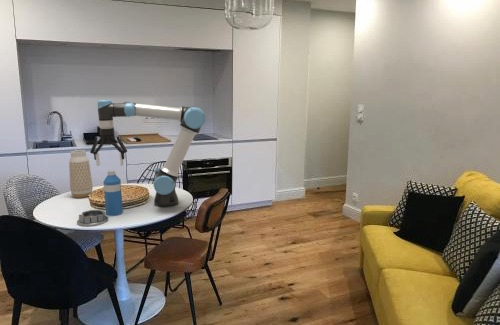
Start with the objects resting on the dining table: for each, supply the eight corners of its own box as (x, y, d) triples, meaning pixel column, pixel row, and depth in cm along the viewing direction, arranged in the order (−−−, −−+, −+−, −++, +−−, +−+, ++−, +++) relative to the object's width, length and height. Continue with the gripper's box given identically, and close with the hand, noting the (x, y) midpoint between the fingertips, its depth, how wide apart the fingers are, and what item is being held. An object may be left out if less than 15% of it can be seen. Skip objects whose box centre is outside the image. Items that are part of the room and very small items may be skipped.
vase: (68, 196, 269) (63, 151, 263) (88, 192, 278) (84, 148, 272) (75, 200, 259) (71, 153, 253) (96, 196, 268) (92, 151, 262)
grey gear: (112, 216, 225) (111, 208, 224) (101, 226, 210) (101, 218, 209) (84, 216, 226) (83, 208, 225) (71, 226, 210) (70, 218, 209)
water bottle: (126, 211, 234) (123, 170, 229) (116, 216, 225) (112, 173, 221) (113, 210, 237) (109, 169, 232) (102, 215, 228) (98, 172, 224)
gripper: (131, 126, 225) (133, 163, 229) (87, 127, 226) (91, 164, 230) (126, 128, 218) (129, 166, 222) (81, 129, 219) (85, 166, 223)
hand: (110, 165), depth 226 cm, fingers open, 13 cm apart
